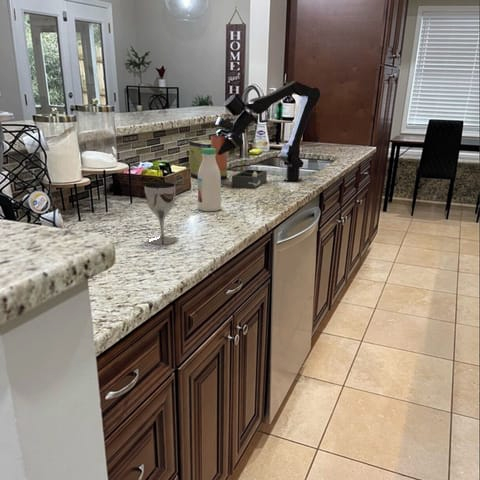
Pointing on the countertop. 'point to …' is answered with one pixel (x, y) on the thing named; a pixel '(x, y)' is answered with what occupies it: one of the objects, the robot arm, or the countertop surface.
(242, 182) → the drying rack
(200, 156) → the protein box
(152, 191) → the wine glass
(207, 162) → the milk bottle
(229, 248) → the countertop surface
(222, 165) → the tumbler
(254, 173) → the pacifier
